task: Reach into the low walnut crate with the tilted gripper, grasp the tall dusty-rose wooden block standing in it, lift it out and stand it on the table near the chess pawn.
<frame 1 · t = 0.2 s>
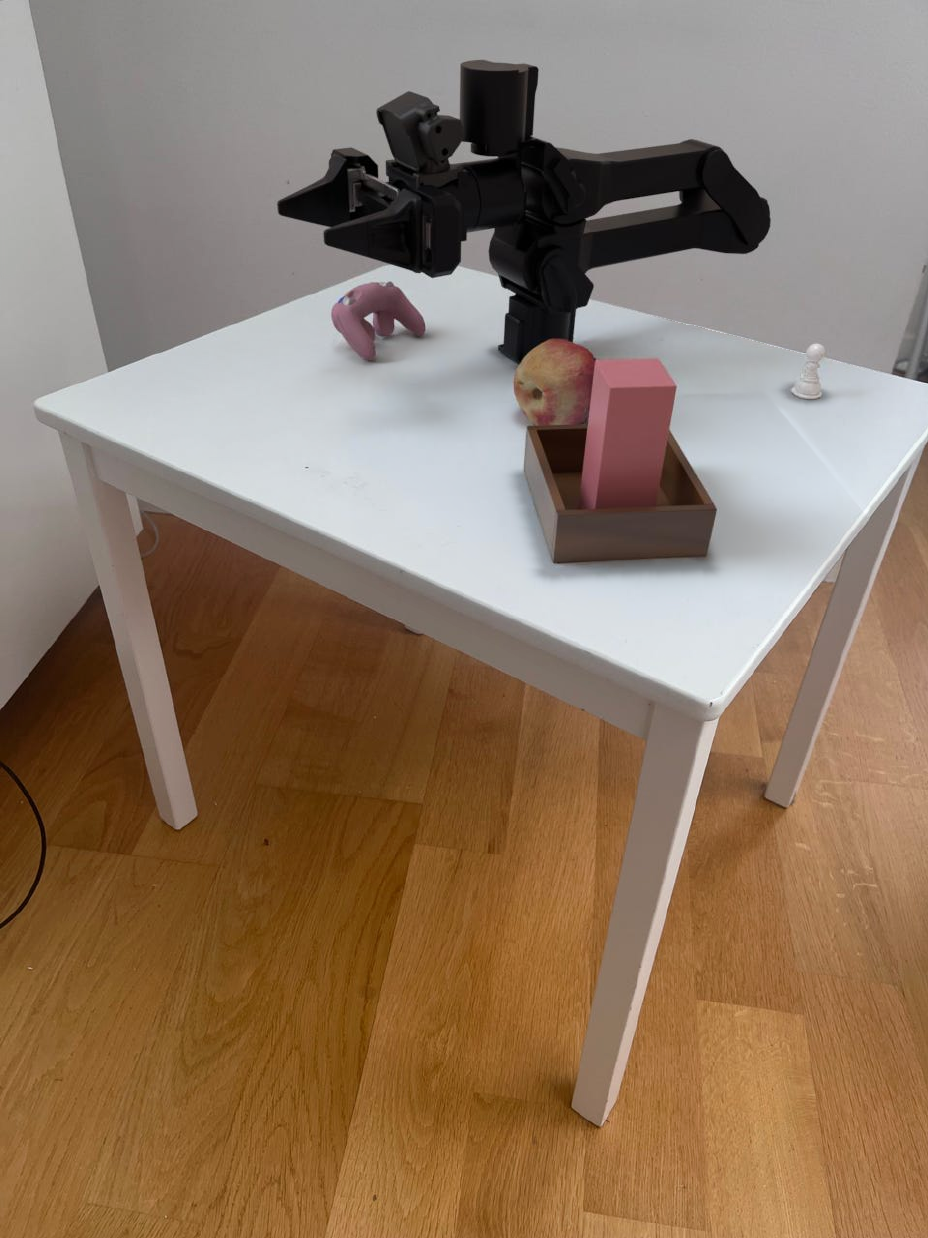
hand: (300, 222, 77), 17 cm above the table, tool horizontal, fingers open, 9 cm apart
crate: (608, 518, 74), on the table
video game controller: (379, 344, 100), on the table
chess pawn: (805, 395, 93), on the table
fruit: (554, 429, 86), on the table
rose block: (613, 520, 72), point 1 cm above the table, touching crate
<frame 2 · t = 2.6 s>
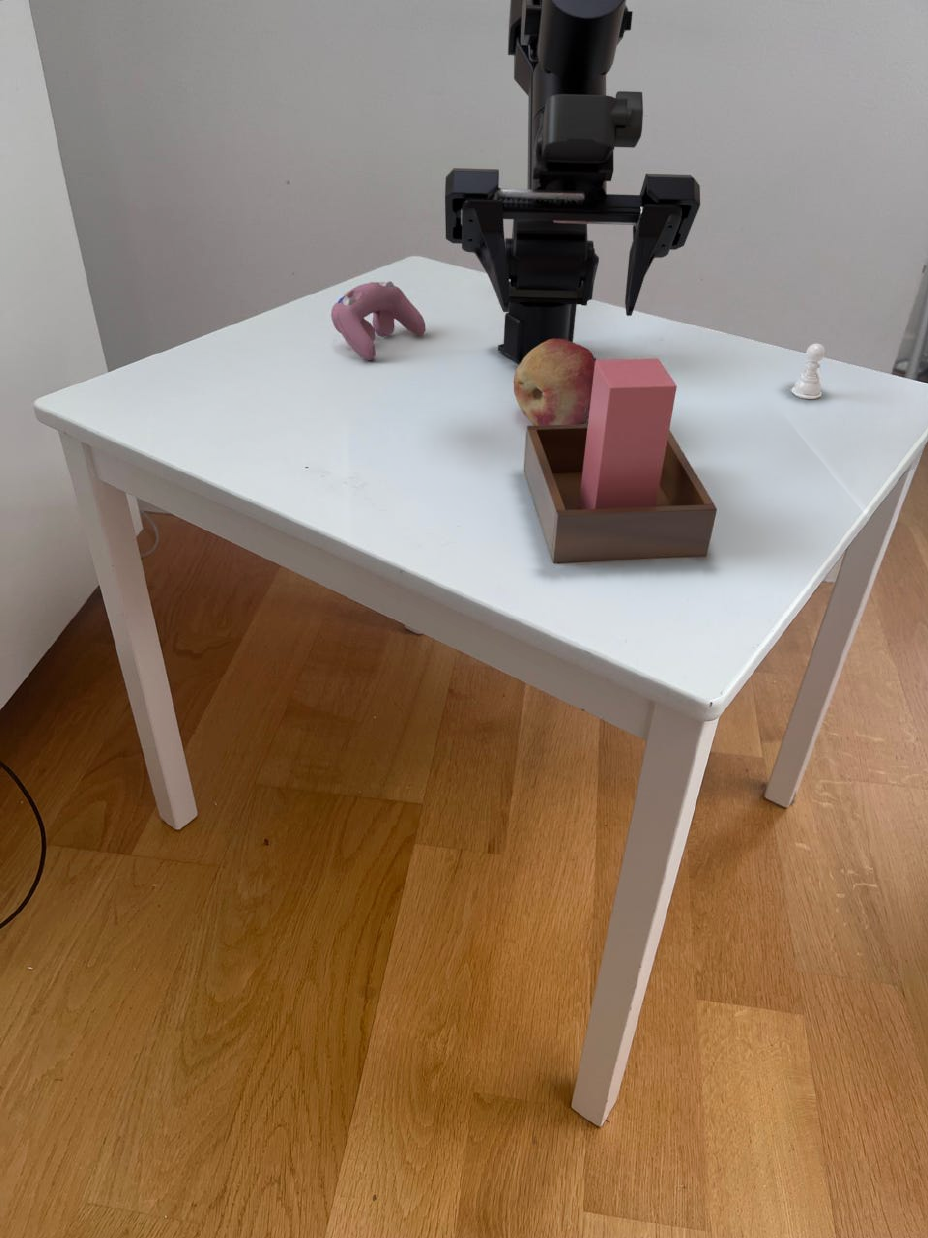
hand: (568, 311, 70), 14 cm above the table, tool tilted 50°, fingers open, 9 cm apart
nothing on the table moved.
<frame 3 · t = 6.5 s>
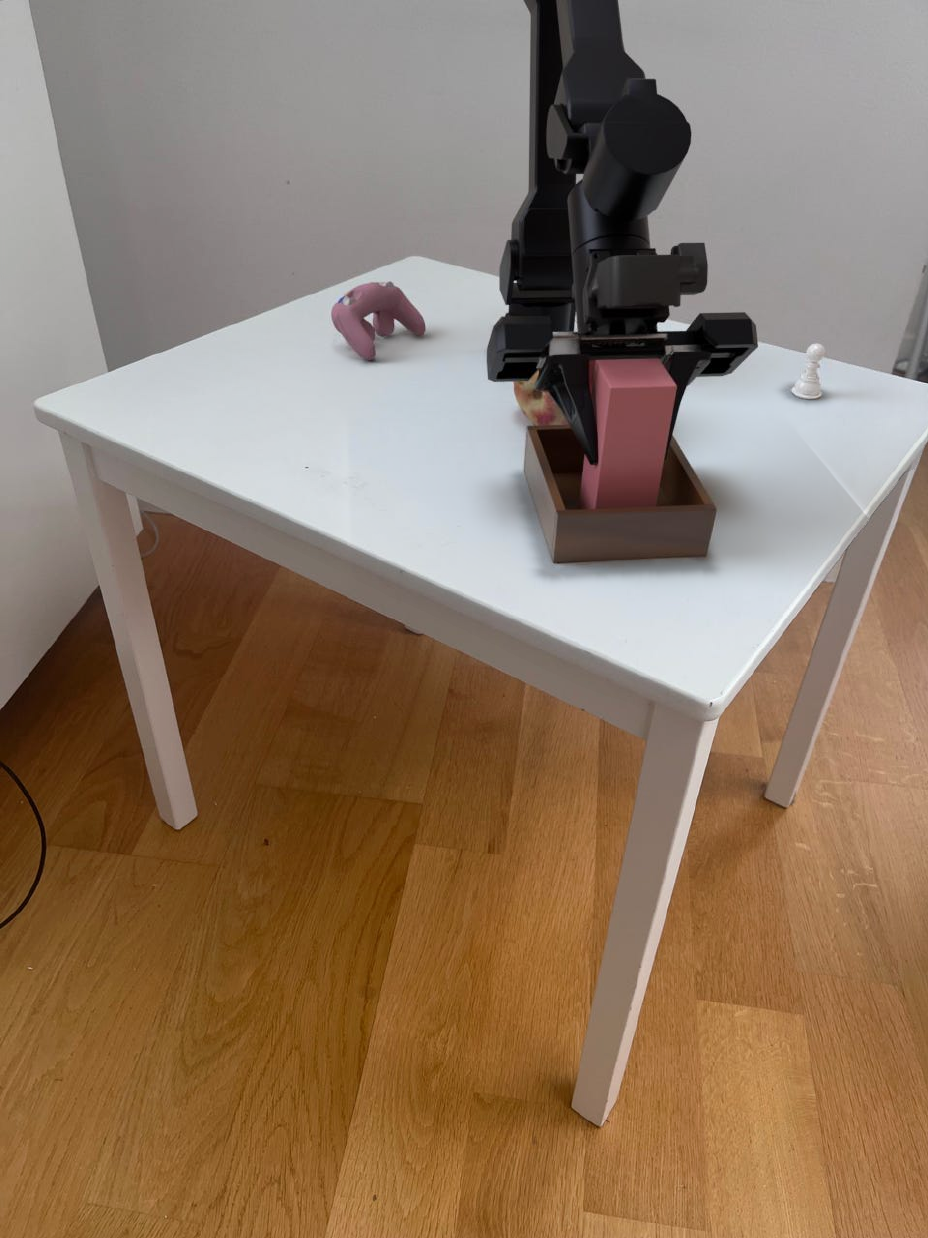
hand: (628, 462, 67), 7 cm above the table, tool tilted 45°, fingers closed on rose block, 4 cm apart
rose block: (613, 520, 72), point 1 cm above the table, touching crate, gripper
everything else where it was.
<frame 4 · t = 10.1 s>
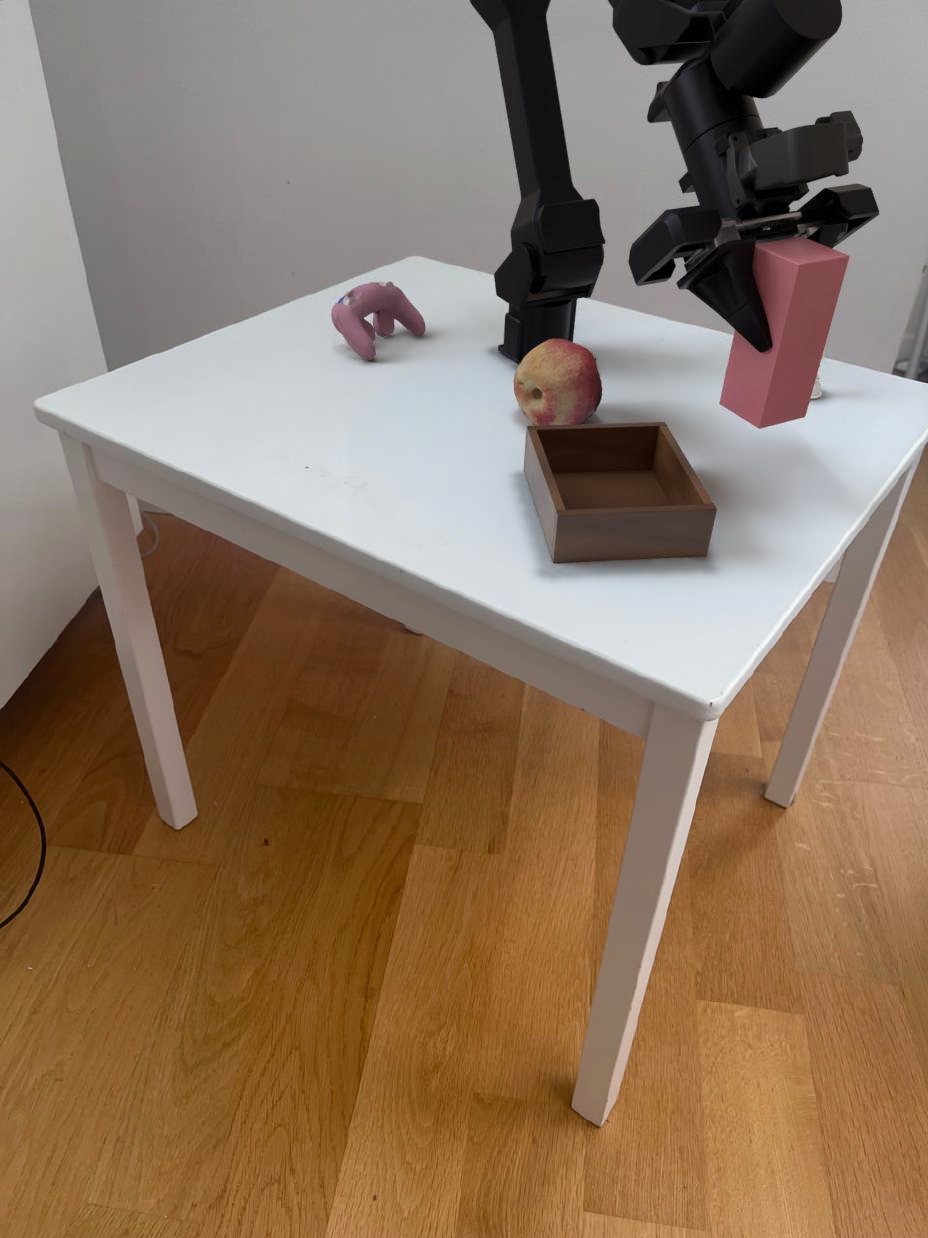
hand: (792, 344, 67), 13 cm above the table, tool tilted 45°, fingers closed on rose block, 4 cm apart
rose block: (761, 410, 72), point 8 cm above the table, touching gripper
everything else where it was.
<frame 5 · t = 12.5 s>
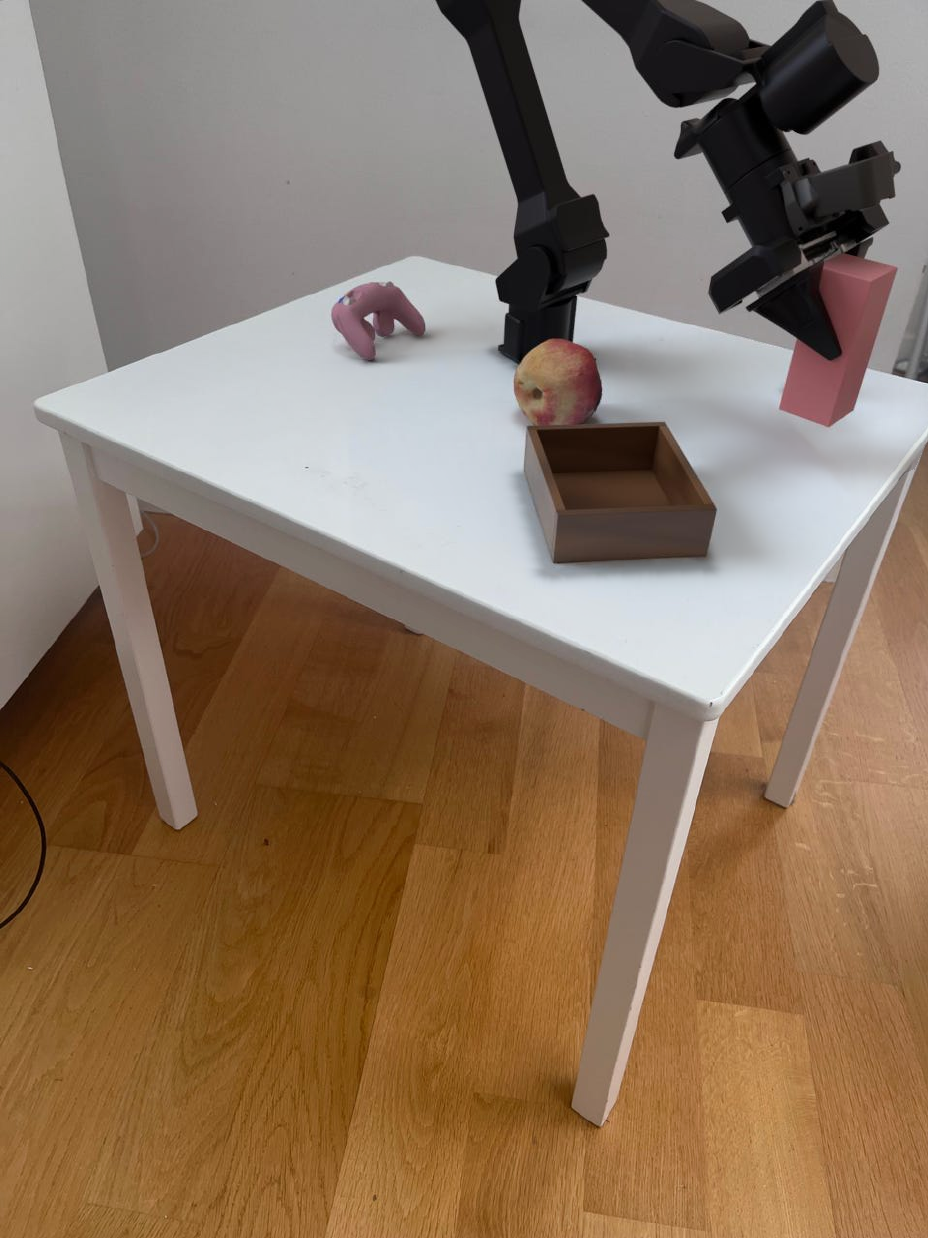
hand: (850, 349, 75), 10 cm above the table, tool tilted 45°, fingers closed on rose block, 4 cm apart
rose block: (816, 410, 80), point 4 cm above the table, touching gripper
everything else where it was.
when the fingers open (6 cm above the table, at t = 14.2 s): rose block stays where it is, on the table.
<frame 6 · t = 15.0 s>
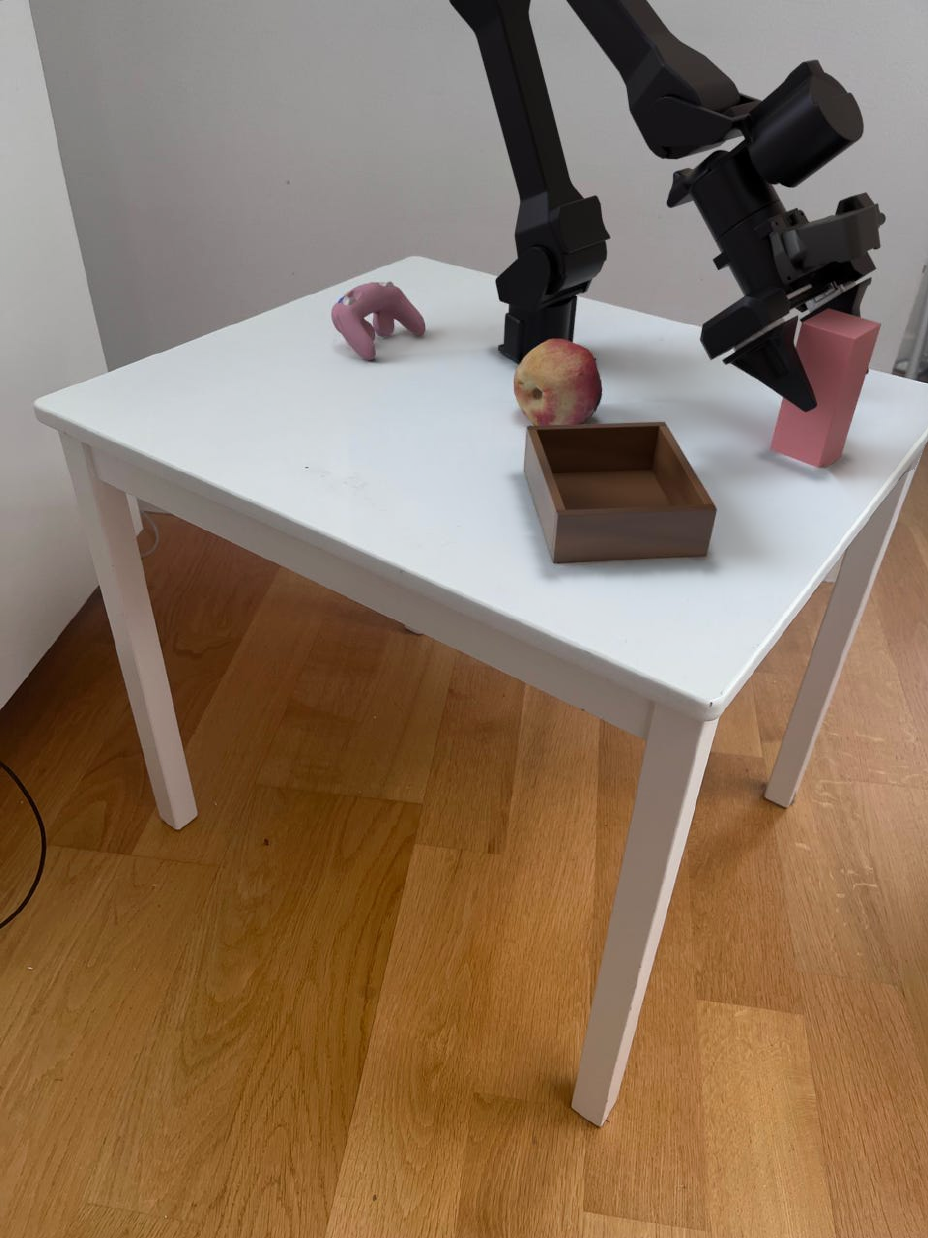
hand: (838, 392, 78), 7 cm above the table, tool tilted 45°, fingers open, 9 cm apart
rose block: (804, 456, 82), on the table
everything else where it was.
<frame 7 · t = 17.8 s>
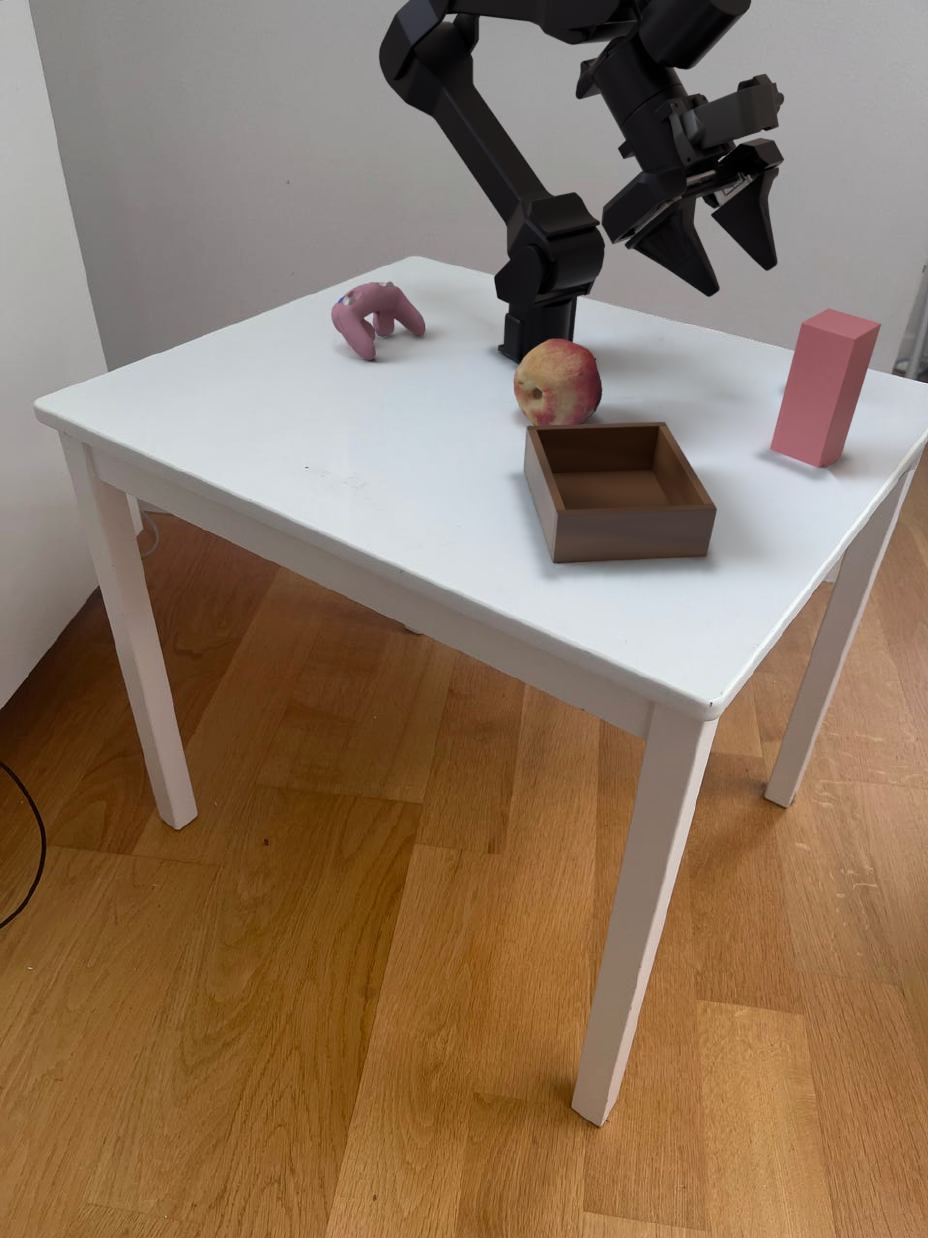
hand: (744, 280, 77), 14 cm above the table, tool tilted 45°, fingers open, 9 cm apart
nothing on the table moved.
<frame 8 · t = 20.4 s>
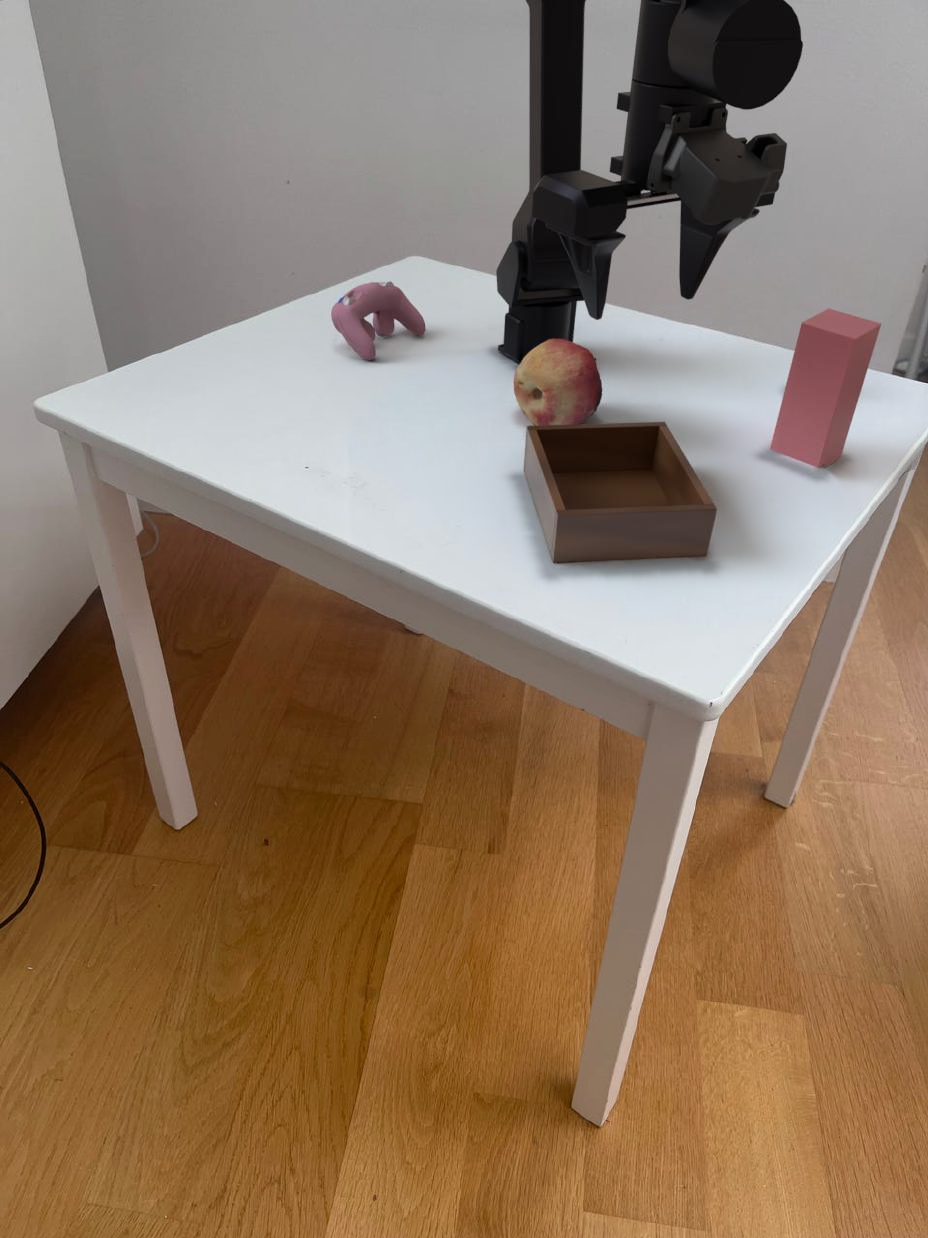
hand: (642, 307, 74), 13 cm above the table, tool pointing down, fingers open, 9 cm apart
nothing on the table moved.
at the end: rose block on the table; rose block 13.4 cm from the chess pawn (horizontally); rose block tilted 0° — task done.
